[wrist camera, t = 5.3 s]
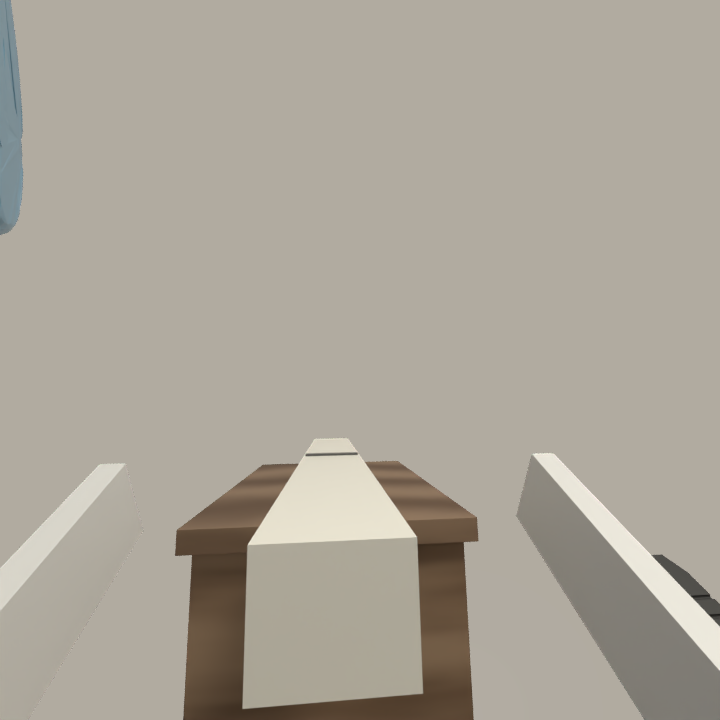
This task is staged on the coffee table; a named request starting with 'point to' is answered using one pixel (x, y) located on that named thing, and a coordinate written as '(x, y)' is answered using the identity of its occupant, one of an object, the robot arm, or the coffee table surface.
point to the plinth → (228, 602)
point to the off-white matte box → (331, 589)
